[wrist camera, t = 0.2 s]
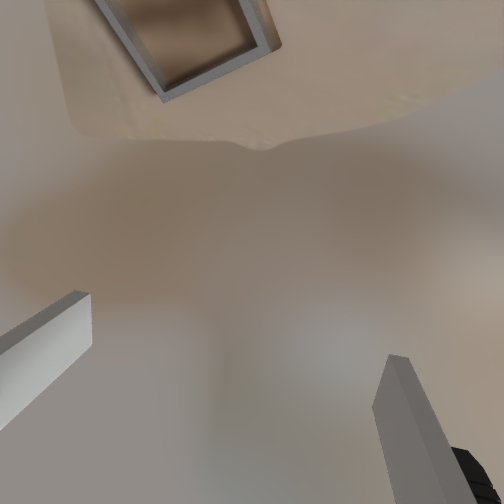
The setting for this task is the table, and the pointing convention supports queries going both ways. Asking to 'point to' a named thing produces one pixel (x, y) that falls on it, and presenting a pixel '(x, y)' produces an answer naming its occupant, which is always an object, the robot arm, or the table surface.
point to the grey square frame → (169, 92)
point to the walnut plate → (193, 32)
